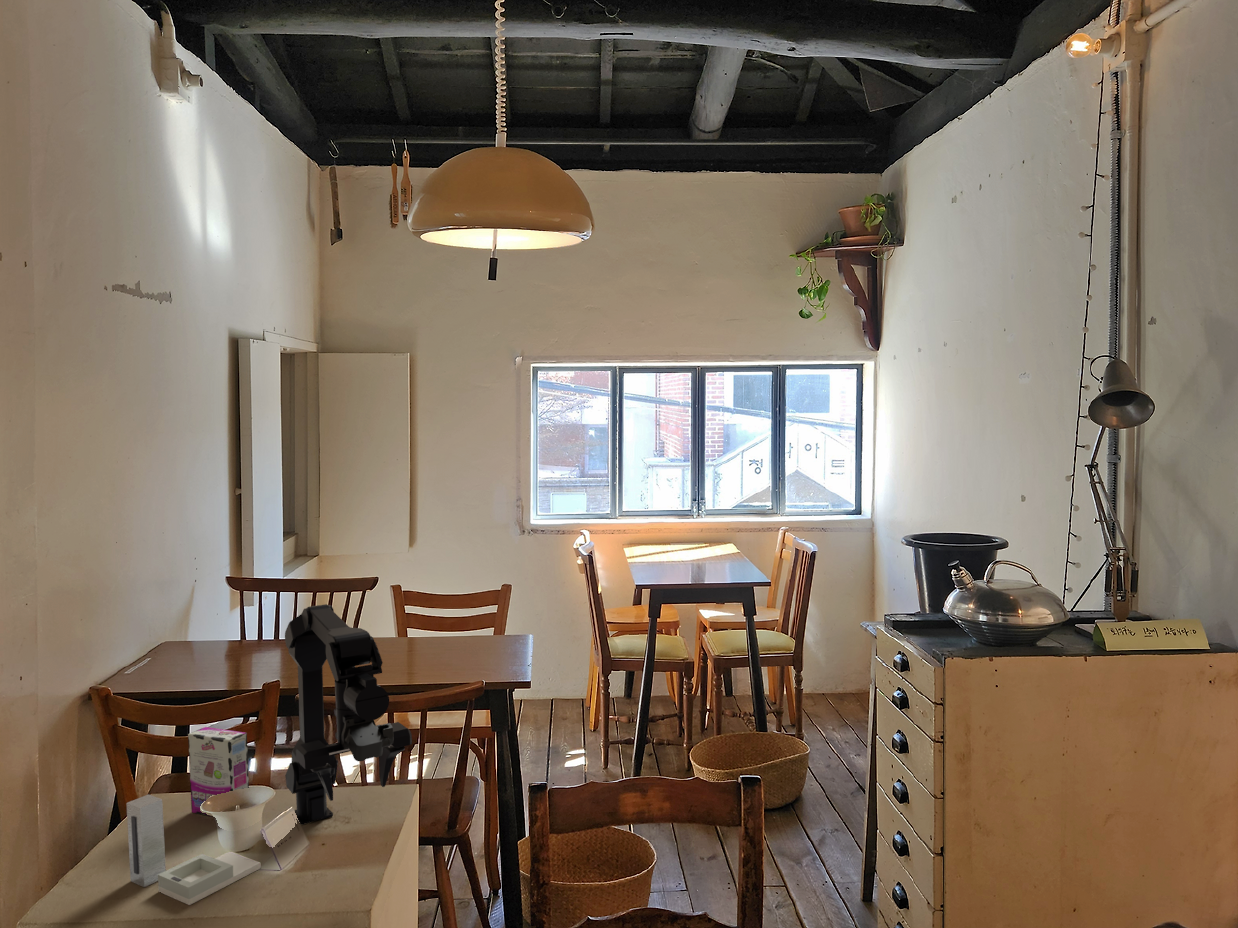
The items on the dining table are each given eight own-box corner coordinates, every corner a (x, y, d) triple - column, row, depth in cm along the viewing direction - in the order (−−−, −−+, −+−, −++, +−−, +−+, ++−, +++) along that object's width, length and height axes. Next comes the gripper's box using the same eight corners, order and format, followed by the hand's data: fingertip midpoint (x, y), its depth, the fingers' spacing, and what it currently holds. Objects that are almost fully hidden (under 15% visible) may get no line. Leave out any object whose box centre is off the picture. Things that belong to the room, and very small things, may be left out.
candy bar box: (251, 811, 191) (248, 731, 189) (233, 821, 186) (229, 740, 185) (209, 802, 195) (205, 725, 194) (190, 812, 190) (186, 733, 189)
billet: (152, 870, 167) (148, 794, 166) (166, 876, 165) (162, 799, 164) (129, 881, 163) (125, 803, 162) (143, 887, 161) (139, 808, 160)
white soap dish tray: (230, 856, 172) (229, 839, 172) (260, 867, 168) (260, 851, 167) (158, 891, 160) (157, 873, 160) (189, 904, 156) (188, 886, 156)
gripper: (312, 729, 151) (317, 824, 152) (422, 705, 162) (426, 794, 163) (292, 711, 160) (297, 801, 161) (397, 689, 171) (401, 774, 172)
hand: (357, 792), depth 164 cm, fingers open, 9 cm apart
